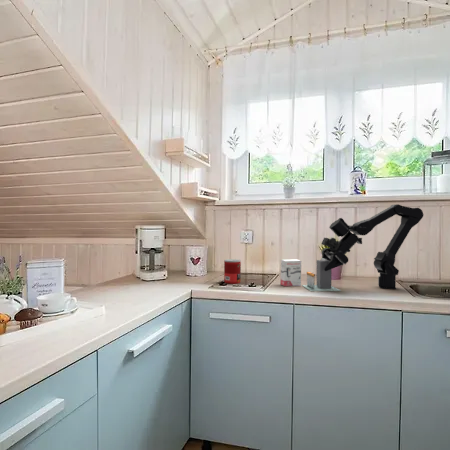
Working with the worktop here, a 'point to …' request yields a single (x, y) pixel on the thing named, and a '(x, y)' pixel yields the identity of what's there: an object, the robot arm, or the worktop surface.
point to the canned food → (232, 271)
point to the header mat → (321, 289)
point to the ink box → (290, 272)
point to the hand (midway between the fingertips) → (321, 269)
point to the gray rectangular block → (323, 274)
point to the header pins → (310, 280)
